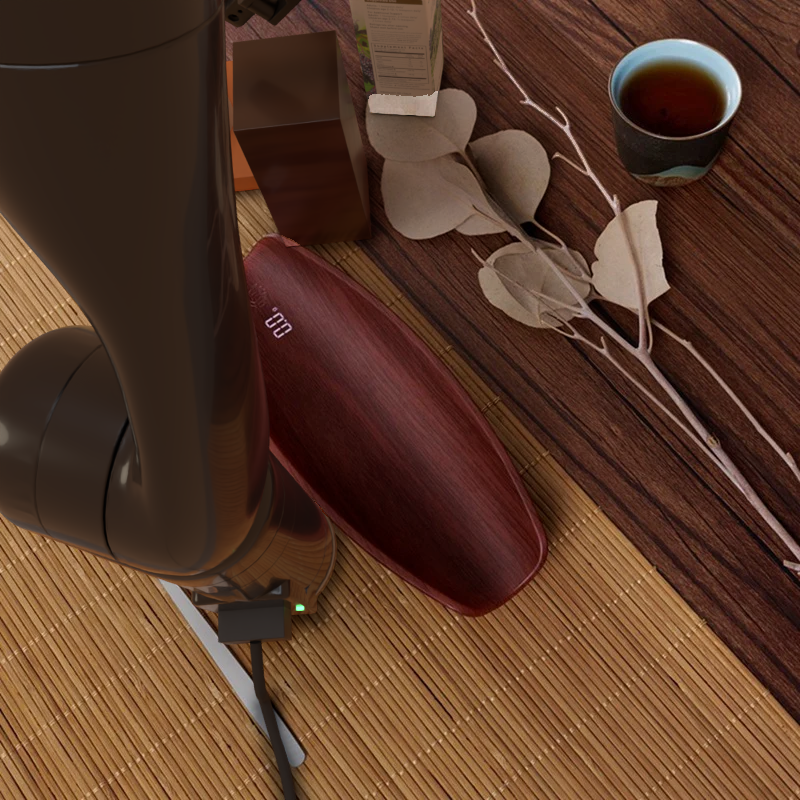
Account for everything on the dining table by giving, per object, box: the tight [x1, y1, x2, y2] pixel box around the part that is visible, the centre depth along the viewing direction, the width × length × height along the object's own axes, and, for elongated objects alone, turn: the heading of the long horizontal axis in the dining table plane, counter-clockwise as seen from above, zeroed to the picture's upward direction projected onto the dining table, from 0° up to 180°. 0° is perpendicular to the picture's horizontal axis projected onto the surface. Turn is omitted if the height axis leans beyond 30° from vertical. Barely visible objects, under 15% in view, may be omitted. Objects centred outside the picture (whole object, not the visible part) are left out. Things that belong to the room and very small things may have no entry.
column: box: [232, 29, 372, 247], centre depth 68 cm, size 7×7×16 cm
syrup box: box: [348, 0, 445, 103], centre depth 71 cm, size 6×6×14 cm
